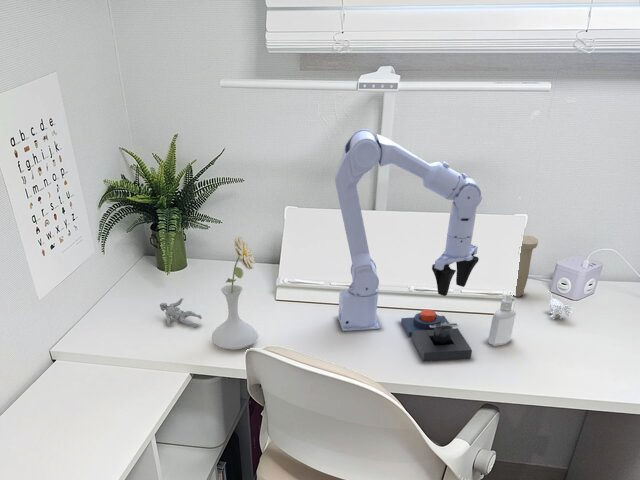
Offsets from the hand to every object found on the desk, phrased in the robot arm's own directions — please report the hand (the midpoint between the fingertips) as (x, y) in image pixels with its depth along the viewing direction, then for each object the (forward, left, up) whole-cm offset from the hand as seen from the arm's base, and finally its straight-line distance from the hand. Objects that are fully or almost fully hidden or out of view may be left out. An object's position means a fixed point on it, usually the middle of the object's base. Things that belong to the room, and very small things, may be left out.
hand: (451, 290), depth 166 cm
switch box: (-6, -2, -9) cm, 11 cm away
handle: (+24, +15, -9) cm, 29 cm away
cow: (+29, +2, -9) cm, 30 cm away
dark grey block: (-5, -13, -9) cm, 17 cm away
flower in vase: (-53, -3, -9) cm, 54 cm away
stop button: (-6, -2, -6) cm, 9 cm away
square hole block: (-5, -13, -9) cm, 17 cm away
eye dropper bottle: (+10, -11, -9) cm, 17 cm away
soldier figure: (-67, +10, -9) cm, 69 cm away
